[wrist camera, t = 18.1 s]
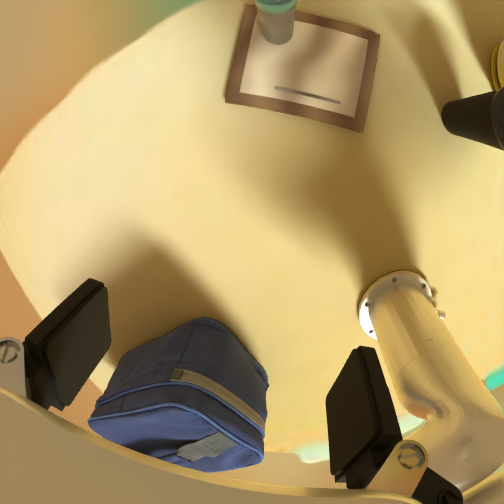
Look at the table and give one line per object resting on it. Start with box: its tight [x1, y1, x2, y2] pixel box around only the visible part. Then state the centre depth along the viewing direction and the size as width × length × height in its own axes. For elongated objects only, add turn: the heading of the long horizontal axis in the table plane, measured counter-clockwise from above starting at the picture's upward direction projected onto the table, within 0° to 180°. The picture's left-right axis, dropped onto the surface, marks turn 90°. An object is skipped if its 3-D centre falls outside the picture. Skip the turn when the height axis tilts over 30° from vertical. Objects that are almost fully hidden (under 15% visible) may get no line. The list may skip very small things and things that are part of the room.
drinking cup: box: [442, 87, 504, 150], centre depth 21 cm, size 8×8×20 cm
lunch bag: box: [88, 318, 269, 473], centre depth 43 cm, size 31×21×20 cm
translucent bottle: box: [254, 0, 297, 45], centre depth 22 cm, size 4×4×13 cm
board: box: [225, 5, 380, 133], centre depth 30 cm, size 17×14×2 cm
